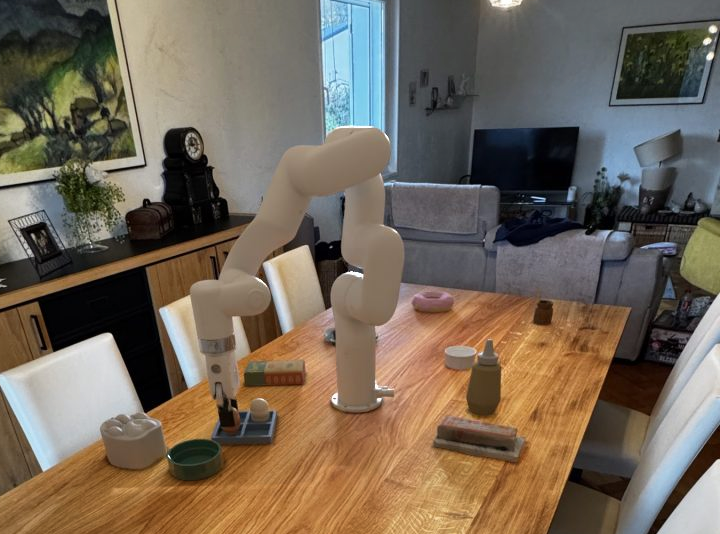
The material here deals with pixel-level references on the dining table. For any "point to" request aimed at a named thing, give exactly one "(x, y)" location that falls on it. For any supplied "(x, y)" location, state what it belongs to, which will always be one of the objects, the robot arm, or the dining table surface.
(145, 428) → the lumpy-topped squat cylinder
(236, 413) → the brown egg
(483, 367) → the squeeze bottle
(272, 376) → the carton
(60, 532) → the dining table surface
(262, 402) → the cream egg
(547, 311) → the utensil holder
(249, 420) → the egg tray
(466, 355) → the ramekin
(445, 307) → the donut
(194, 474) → the bowl
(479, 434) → the packaged product
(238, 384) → the robot arm
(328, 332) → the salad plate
